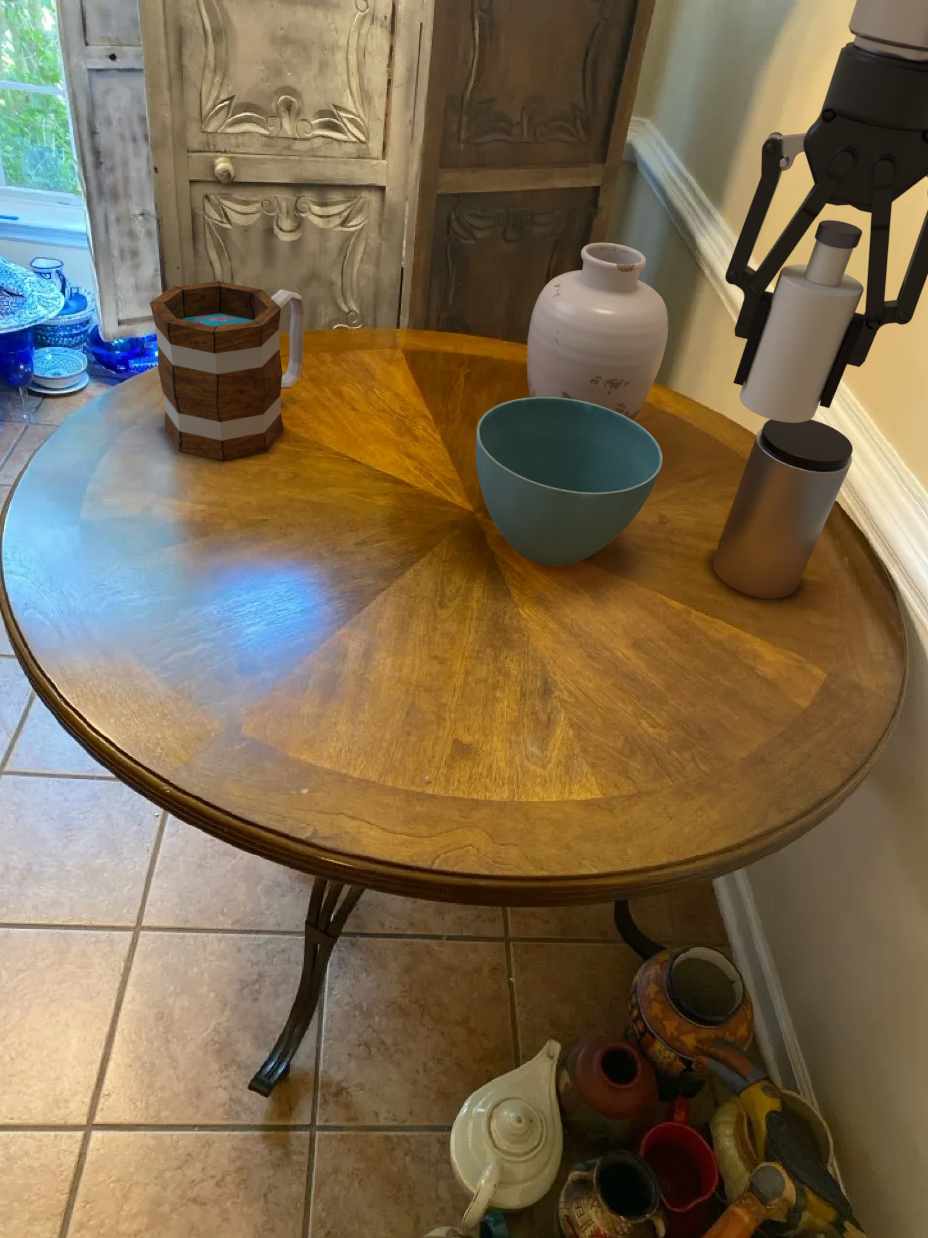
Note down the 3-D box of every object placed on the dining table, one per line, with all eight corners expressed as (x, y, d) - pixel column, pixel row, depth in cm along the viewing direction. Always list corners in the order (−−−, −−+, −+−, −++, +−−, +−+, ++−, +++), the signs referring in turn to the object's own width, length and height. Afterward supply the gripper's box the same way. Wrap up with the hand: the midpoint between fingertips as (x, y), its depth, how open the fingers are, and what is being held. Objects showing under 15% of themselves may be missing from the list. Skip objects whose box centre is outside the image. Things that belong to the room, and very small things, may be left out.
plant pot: (595, 490, 105) (618, 392, 98) (663, 588, 93) (695, 485, 85) (444, 500, 100) (455, 398, 93) (493, 606, 88) (510, 498, 80)
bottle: (829, 412, 73) (901, 235, 64) (785, 429, 70) (853, 247, 61) (769, 380, 76) (829, 208, 67) (724, 396, 73) (780, 218, 64)
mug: (221, 474, 100) (211, 344, 90) (139, 429, 105) (121, 301, 95) (342, 414, 113) (345, 294, 103) (263, 377, 118) (259, 259, 108)
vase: (550, 480, 106) (588, 285, 91) (492, 415, 117) (517, 230, 102) (663, 462, 112) (715, 276, 97) (597, 402, 122) (636, 225, 108)
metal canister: (815, 581, 96) (875, 448, 86) (762, 609, 92) (819, 472, 81) (748, 537, 101) (797, 406, 91) (695, 562, 97) (740, 427, 86)
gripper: (1061, 67, 58) (907, 400, 73) (761, 15, 62) (674, 341, 77) (1076, 86, 52) (906, 442, 67) (746, 28, 56) (655, 376, 71)
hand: (782, 388), depth 72 cm, fingers closed on bottle, 6 cm apart
